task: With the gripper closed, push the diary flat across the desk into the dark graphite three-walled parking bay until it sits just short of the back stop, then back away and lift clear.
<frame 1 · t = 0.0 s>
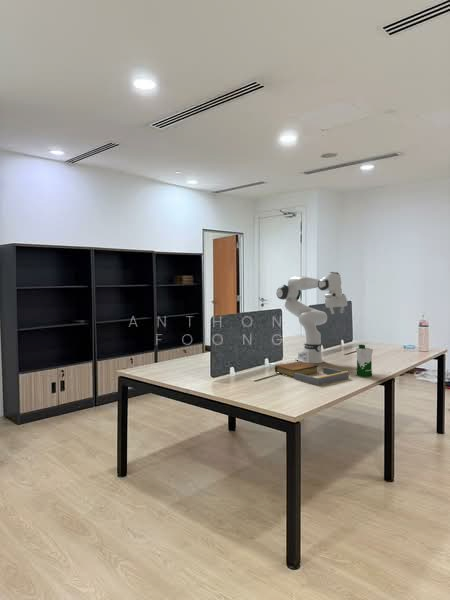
hand: (337, 313, 301), 39 cm above the table, tool pointing down, fingers open, 8 cm apart
diary: (296, 373, 286), on the table
milk carton: (364, 376, 275), on the table
bay: (320, 378, 269), on the table
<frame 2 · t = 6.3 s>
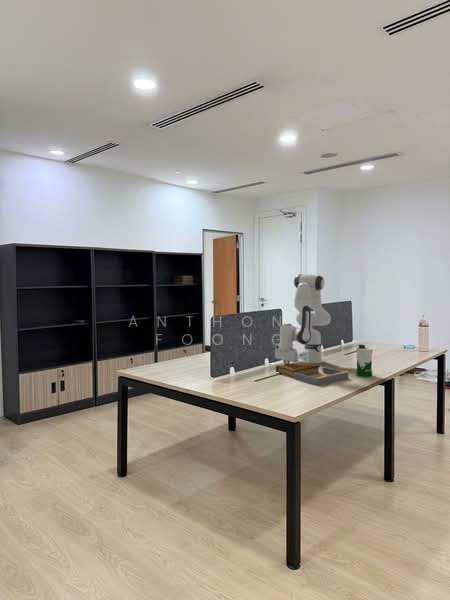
hand: (286, 366, 294), 3 cm above the table, tool pointing down, fingers closed
diary: (297, 374, 285), on the table
everything else where it was.
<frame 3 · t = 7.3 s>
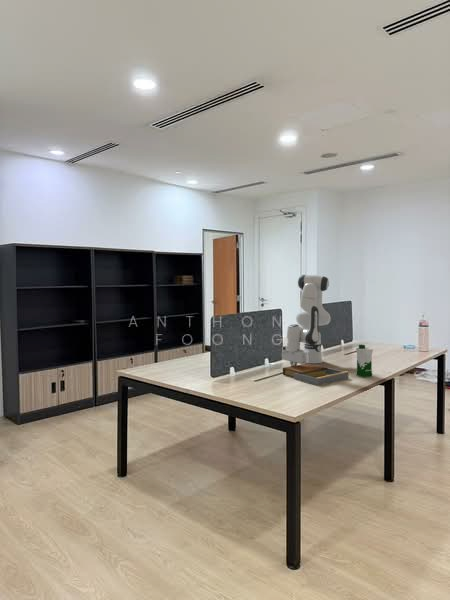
hand: (293, 368, 288), 3 cm above the table, tool pointing down, fingers closed
diary: (305, 376, 279), on the table
everything else where it was.
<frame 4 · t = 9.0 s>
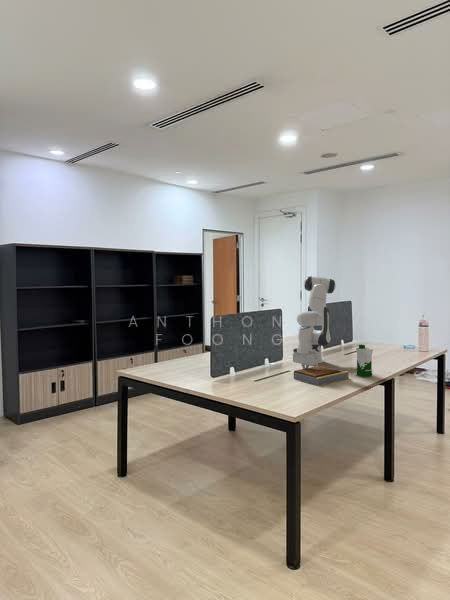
hand: (305, 370, 279), 3 cm above the table, tool pointing down, fingers closed
diary: (316, 379, 270), on the table, touching gripper
everything else where it was.
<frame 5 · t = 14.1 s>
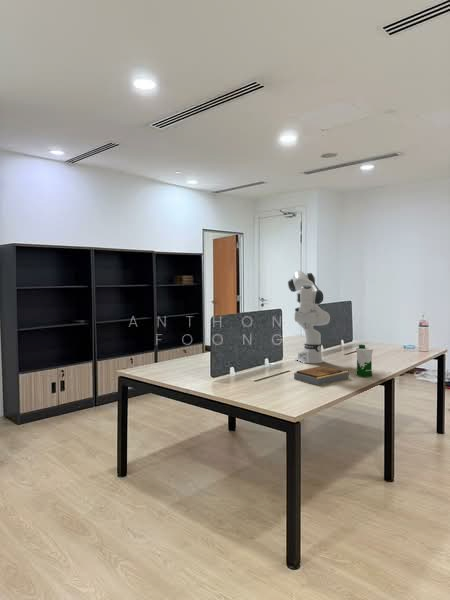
hand: (306, 329, 290), 29 cm above the table, tool pointing down, fingers closed
diary: (319, 379, 269), on the table
everything else where it was.
at the end: diary 0.9 cm from the target spot on the bay, point -0.7 cm above the bay's base; diary tilted 0°; diary moved 21.1 cm from its start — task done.
